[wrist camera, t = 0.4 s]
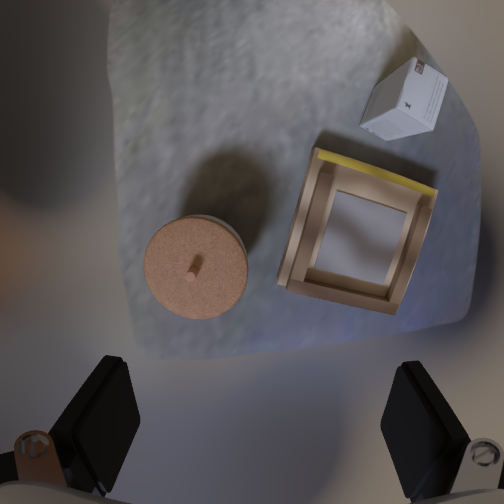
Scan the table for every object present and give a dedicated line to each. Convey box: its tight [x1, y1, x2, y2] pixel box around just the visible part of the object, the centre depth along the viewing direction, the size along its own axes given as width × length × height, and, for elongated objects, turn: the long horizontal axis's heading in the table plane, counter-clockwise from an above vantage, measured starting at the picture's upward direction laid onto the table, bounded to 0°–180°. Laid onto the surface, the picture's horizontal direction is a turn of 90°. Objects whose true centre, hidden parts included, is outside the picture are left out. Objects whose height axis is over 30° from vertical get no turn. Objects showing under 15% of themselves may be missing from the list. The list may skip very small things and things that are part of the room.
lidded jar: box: [144, 214, 248, 319], centre depth 35 cm, size 11×11×9 cm
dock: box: [277, 147, 438, 315], centre depth 36 cm, size 16×16×4 cm
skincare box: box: [359, 57, 449, 141], centre depth 28 cm, size 6×4×12 cm
